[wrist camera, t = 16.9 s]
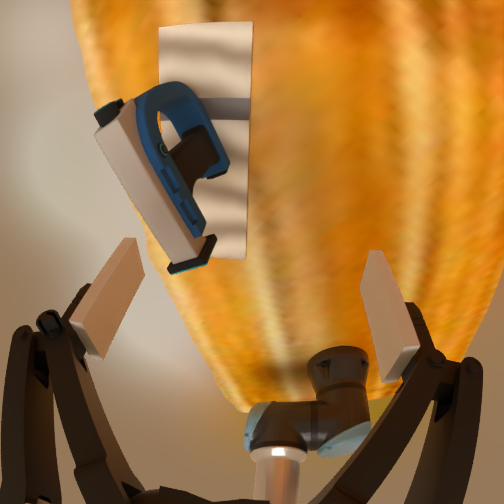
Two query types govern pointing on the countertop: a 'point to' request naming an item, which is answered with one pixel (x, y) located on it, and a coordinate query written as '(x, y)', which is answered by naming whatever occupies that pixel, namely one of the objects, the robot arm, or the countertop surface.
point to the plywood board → (216, 117)
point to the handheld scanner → (165, 166)
